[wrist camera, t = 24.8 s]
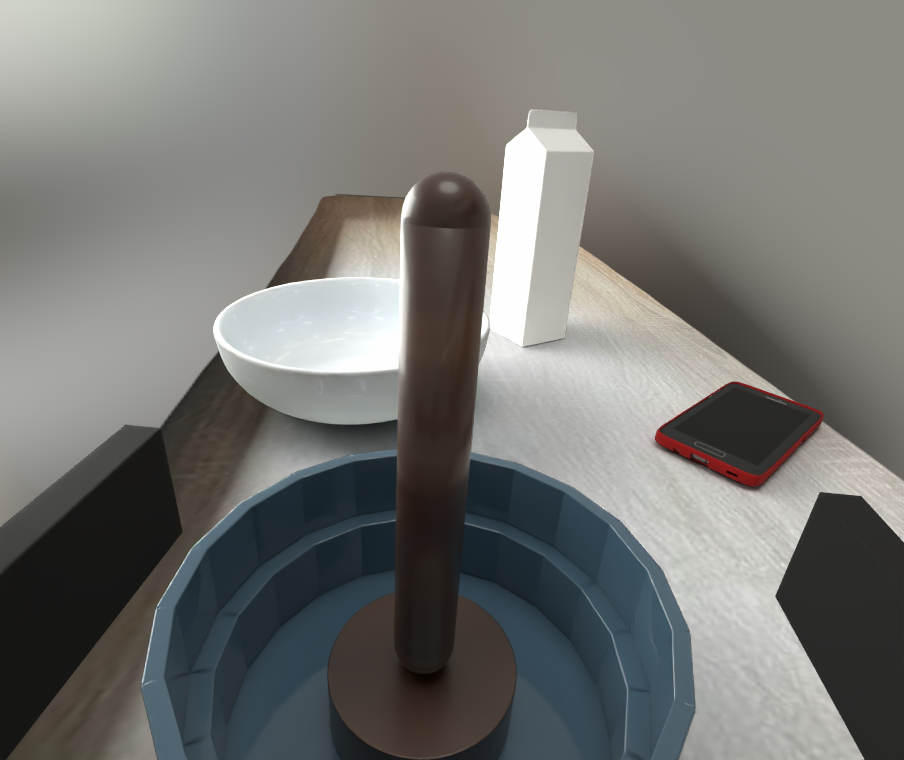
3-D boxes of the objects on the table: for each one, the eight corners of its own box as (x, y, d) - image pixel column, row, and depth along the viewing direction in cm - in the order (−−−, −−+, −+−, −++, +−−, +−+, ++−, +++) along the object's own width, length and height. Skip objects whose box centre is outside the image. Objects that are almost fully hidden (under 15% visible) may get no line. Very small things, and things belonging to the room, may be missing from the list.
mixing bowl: (757, 903, 17) (838, 772, 14) (144, 1187, 12) (64, 1080, 9) (527, 534, 32) (543, 430, 29) (203, 593, 27) (180, 475, 24)
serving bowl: (266, 338, 55) (260, 271, 52) (475, 348, 56) (481, 282, 53) (178, 457, 37) (159, 362, 34) (493, 468, 37) (503, 377, 34)
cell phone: (649, 442, 41) (651, 431, 41) (730, 388, 51) (733, 379, 50) (755, 492, 37) (760, 480, 36) (824, 423, 46) (828, 412, 45)
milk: (488, 328, 62) (507, 107, 52) (530, 321, 65) (555, 110, 55) (522, 348, 57) (550, 110, 47) (566, 338, 60) (600, 113, 50)
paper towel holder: (540, 771, 20) (665, 197, 11) (343, 835, 18) (308, 190, 9) (474, 615, 26) (522, 161, 17) (320, 650, 24) (286, 153, 15)
